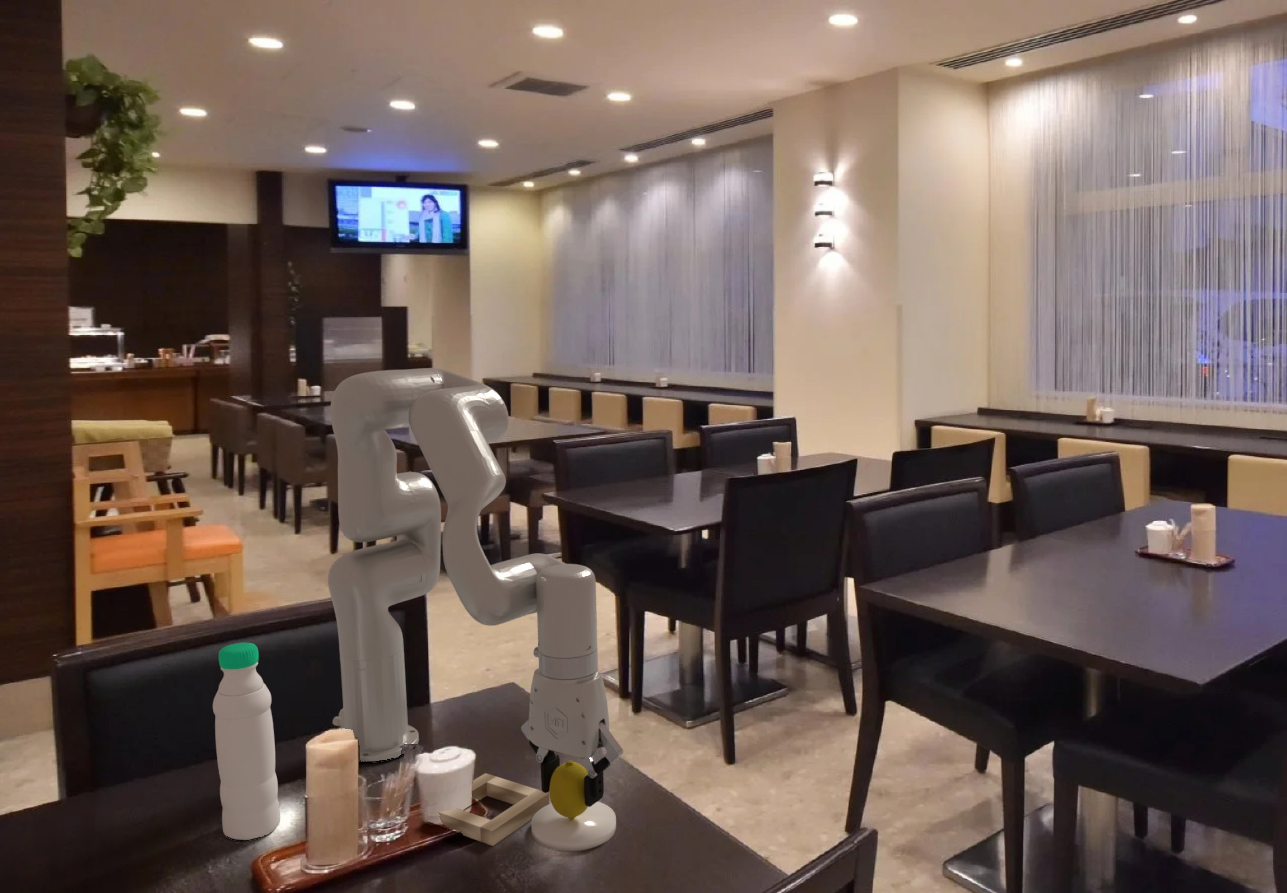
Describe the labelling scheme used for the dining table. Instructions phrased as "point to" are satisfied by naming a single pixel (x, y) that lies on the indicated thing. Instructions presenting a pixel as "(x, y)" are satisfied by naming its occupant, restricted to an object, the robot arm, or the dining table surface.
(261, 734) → the water bottle
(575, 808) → the lemon
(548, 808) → the saucer
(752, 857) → the dining table surface
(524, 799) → the frame
